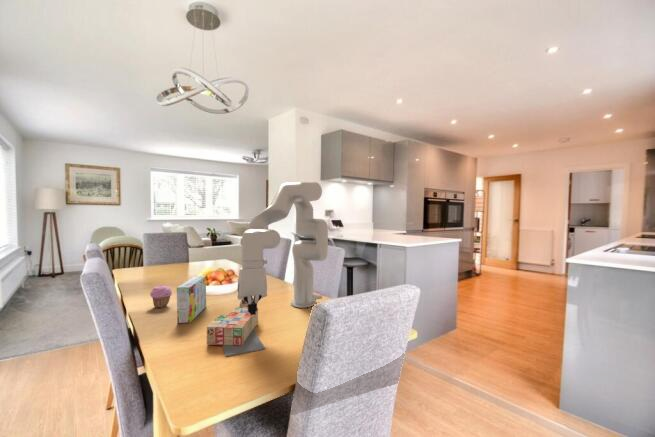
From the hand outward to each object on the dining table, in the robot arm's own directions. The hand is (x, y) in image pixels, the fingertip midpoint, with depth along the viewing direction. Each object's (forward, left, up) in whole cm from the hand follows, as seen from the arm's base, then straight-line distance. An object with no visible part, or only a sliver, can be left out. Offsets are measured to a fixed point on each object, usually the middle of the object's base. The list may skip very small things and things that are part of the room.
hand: (252, 313), depth 111 cm
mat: (+5, 0, -8) cm, 9 cm away
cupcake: (+32, -51, -8) cm, 61 cm away
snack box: (+19, -33, -8) cm, 39 cm away
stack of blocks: (0, -1, -5) cm, 5 cm away
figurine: (-2, -20, -8) cm, 22 cm away
